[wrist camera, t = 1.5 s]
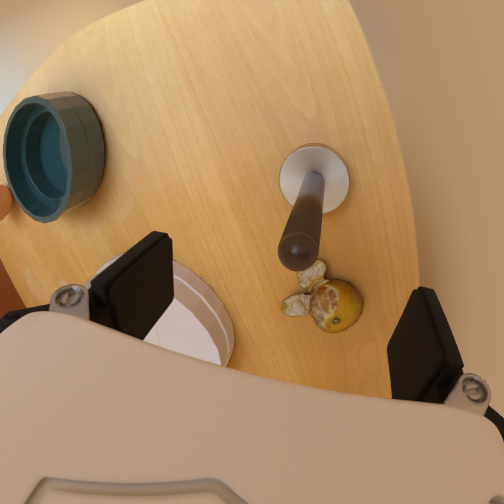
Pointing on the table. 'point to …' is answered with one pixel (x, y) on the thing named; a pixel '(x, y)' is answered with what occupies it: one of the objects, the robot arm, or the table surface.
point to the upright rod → (309, 200)
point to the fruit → (325, 300)
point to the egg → (4, 201)
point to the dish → (191, 319)
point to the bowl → (53, 154)
